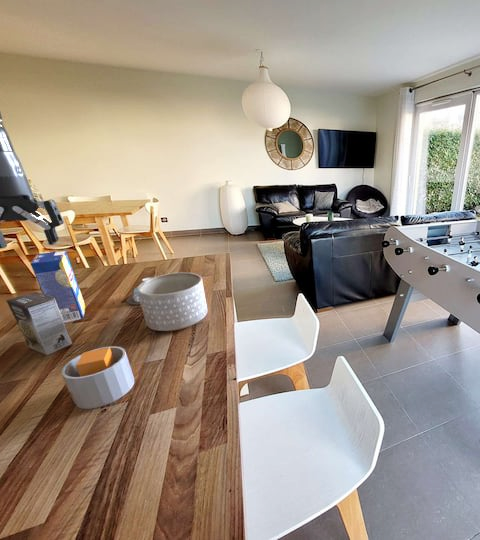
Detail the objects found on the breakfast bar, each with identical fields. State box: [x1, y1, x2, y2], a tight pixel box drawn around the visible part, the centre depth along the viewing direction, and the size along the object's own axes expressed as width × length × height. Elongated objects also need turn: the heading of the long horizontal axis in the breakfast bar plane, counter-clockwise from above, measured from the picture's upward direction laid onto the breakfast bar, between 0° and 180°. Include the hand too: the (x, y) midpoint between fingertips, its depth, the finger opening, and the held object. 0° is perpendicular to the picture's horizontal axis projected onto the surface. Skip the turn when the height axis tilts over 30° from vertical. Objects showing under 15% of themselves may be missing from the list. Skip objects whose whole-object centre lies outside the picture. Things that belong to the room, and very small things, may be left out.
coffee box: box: [5, 291, 73, 356], centre depth 83 cm, size 9×6×16 cm
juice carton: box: [76, 346, 115, 377], centre depth 69 cm, size 5×5×10 cm
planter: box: [136, 272, 209, 332], centre depth 99 cm, size 19×19×14 cm
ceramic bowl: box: [61, 345, 136, 410], centre depth 70 cm, size 11×11×9 cm
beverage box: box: [30, 250, 86, 324], centre depth 98 cm, size 7×11×22 cm, turn 38°
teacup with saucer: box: [126, 277, 152, 307], centre depth 114 cm, size 12×12×8 cm
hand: (28, 245), depth 67 cm, fingers open, 8 cm apart
